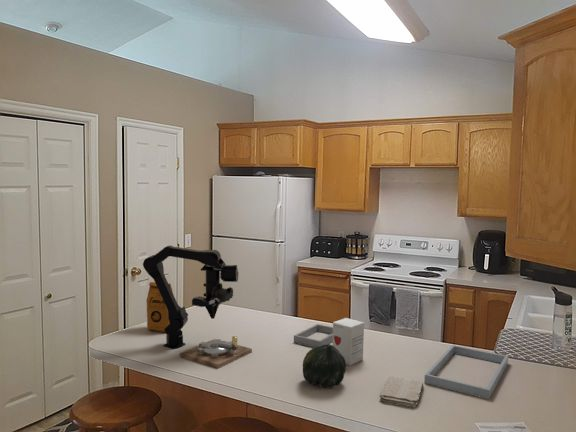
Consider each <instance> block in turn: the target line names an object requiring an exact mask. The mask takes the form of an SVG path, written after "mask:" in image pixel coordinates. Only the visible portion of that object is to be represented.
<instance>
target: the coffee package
mask: <svg viewBox="0 0 576 432" xmlns="http://www.w3.org/2000/svg"><path fill="white" fill-rule="evenodd" d="M168 284H169V286H170V288H171V291H172V293H173V294H174V291H173V288H172V284H171V283H168ZM146 318H147V320H146V325H147V327H146V330H149V331H157V332H162V333H165V330H164V329H165V328H166V327H167V326H168V325H169V324H170V322H169V319H168V309H167V307H166V305H165V303H164V301H163V299H162V296H161V294H160V292H159V290H158V288H157V285H156V283H155V281H150V282H149V288H148V292H147V297H146Z"/></svg>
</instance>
